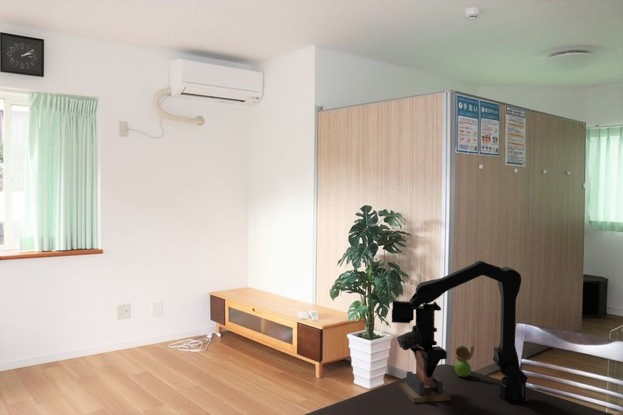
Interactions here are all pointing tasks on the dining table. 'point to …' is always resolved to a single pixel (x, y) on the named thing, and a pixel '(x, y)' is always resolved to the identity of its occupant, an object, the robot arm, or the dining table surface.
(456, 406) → the dining table surface
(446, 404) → the dining table surface
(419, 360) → the reddish brown block
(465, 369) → the snail figurine
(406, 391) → the bookend shelf
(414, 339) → the robot arm
